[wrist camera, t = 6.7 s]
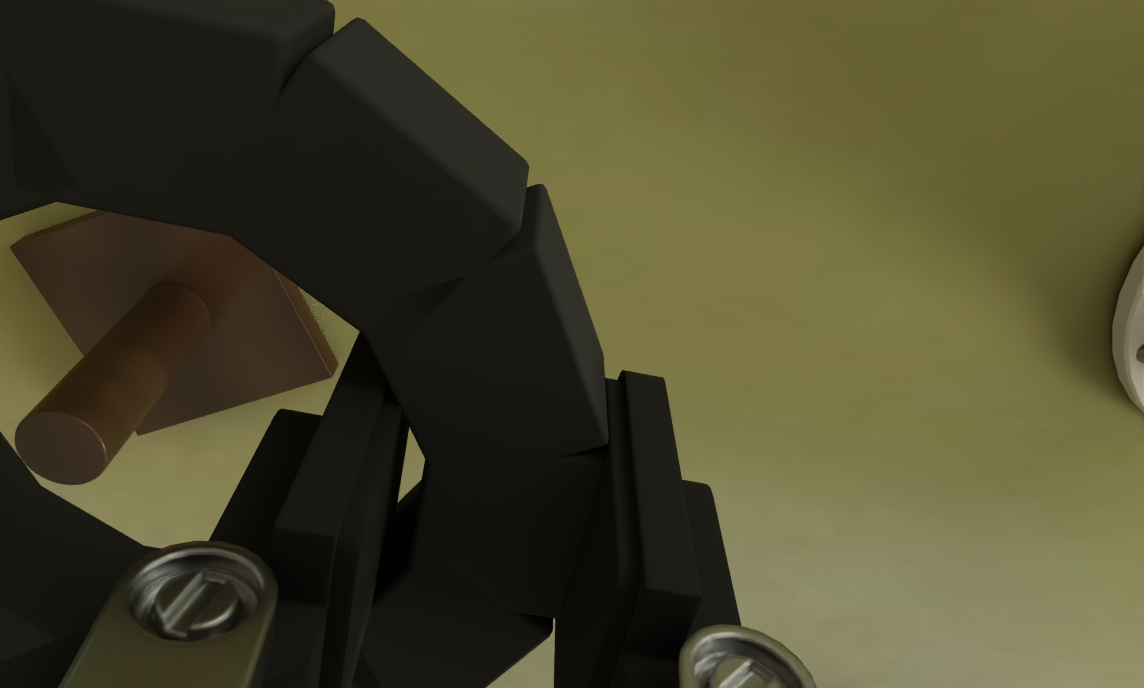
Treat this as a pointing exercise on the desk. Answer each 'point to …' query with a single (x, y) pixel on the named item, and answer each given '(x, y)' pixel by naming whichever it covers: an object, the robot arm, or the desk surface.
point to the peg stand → (157, 335)
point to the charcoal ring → (328, 297)
